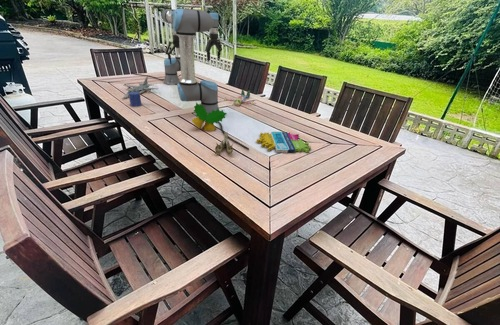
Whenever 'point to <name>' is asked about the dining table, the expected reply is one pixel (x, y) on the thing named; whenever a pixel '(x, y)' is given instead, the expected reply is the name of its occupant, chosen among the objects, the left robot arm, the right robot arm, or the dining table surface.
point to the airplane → (138, 88)
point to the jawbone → (224, 145)
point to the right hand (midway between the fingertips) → (179, 64)
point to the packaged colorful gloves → (283, 142)
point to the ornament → (207, 117)
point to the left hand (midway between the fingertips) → (213, 59)
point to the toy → (241, 99)
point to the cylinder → (135, 99)
